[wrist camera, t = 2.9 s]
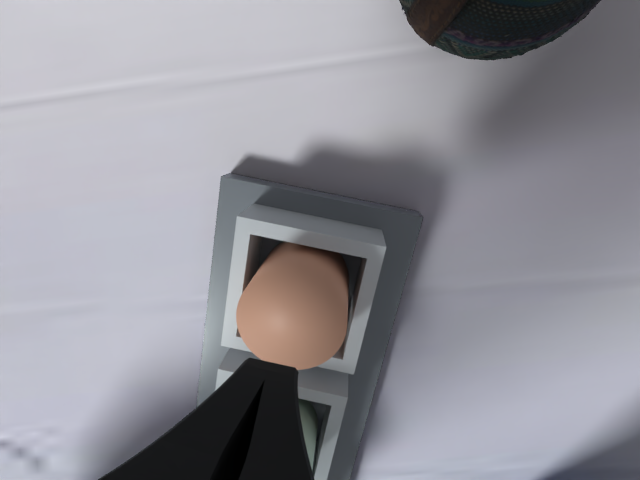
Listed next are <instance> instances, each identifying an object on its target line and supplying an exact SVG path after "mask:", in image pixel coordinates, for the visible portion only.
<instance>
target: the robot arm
mask: <svg viewBox="0 0 640 480" xmlns="http://www.w3.org/2000/svg"><path fill="white" fill-rule="evenodd" d="M298 374H299V372H298V370H297V369H296V368H295V367H291V366H286V365H281V364H277V363H272V362H268V361H263V360H258V359H254V358H248V359H246V360H245V361H244V362H243V363H242V364H241V365H240V366H239V368H238V369H237V370H236V371H235V372H234V373H233V374H232V375H231V376H230V377H229V378H228V379H227V380H226V381H225V382H224V383H223V384H222V385H221V386H220V387H219V388H218V389H217V390H216V391H214V392H213V393H212V394H211V395H210V396H209V397H208V398H207V399H206V400H205V401H203V402H202V403H201V404H200V405H199V406H198V407H197V408H196V409H195V410H193V411H192V412H191V413H190V414H189V415H187V416H186V417H185V418H184V419H182V420H181V421H180V422H179V423H177V424H176V425H175V426H174V427H173V428H171V429H170V430H169V431H168V432H166V433H165V434H164V435H162V436H161V437H160V438H158V439H157V440H156V441H154V442H153V443H152V444H150V445H149V446H148V447H146V448H145V449H144V450H142V451H141V452H139V453H138V454H136V455H135V456H133V457H132V458H131V459H129V460H128V461H126V462H125V463H123V464H122V465H120V466H119V467H117V468H116V469H114V470H113V471H111V472H109V473H108V474H106V475H105V476H103V477H101V478H100V479H98V480H314V476H313V472H312V469H311V465H310V461H309V457H308V453H307V448H306V444H305V439H304V434H303V428H302V422H301V417H300V409H299V400H298Z"/></svg>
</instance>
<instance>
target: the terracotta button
mask: <svg viewBox="0 0 640 480" xmlns="http://www.w3.org/2000/svg"><path fill="white" fill-rule="evenodd" d="M348 293H349V273H348V269H347V265H346V263H345V261H344V259H343V258H342V256H341V255H340V253H338V252H334V251H329V250H324V249H319V248H314V247H310V246H305V245H300V244H295V243H290V242H286V241H283V242H282V243H280V244H278V245H277V246H276V247H275V248H274V249H273V250H272V251H271V252H270V253H269V255H268V256H267V258H266V259H265V261H264V262H263V263H262V265H261V266H260V268H259V269H258V271H257V272H256V274H255V275H254V277H253V278H252V280H251V281H250V283H249V284H248V286H247V287H246V289H245V290H244V291H243V293H242V295H241V297H240V299H239V302H238V305H237V310H236V322H237V327H238V331H239V333H240V336H241V338H242V340H243V342H244V343H245V344H246V346H247V347H248V348H249V349H250V351H251V352H252V353H253V354H255V355H256V356H257V357H258V358H260V359H261V360H263V361H268V362H272V363H277V364H281V365H286V366H291V367H295V368H296V369H297V370H303V369H309V368H312V367H316V366H318V365H320V364H322V363H324V362H326V361H327V360H329V359H330V358H331V357H332V356H333V355H334V354H335V353H336V352H337V351H338V350H339V348H340V347H341V345H342V343H343V341H344V339H345V336H346V331H347V319H348Z"/></svg>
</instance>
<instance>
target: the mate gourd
mask: <svg viewBox="0 0 640 480" xmlns="http://www.w3.org/2000/svg"><path fill="white" fill-rule="evenodd" d="M399 1H400V3H401V5H402V9H404V11H405V13H404V14H406V16H407V21H408V22H409V24H410V25H411V26H412V28H413V29H414V31H415V32H416V33H417V34H418V35H419V36H420V37H421V38H422V39H423V40H425V41H426V42H427V43H428V44H429V45H431V46H435V47H437V48H440V49H442V50H443V51H446V52H449V53H451V54H454V55H457V56H461V57H462V58H463V57H464V58H466V59H474V60H475V59H479V60H496V59H501V58H503V59H505V58H506V59H507V58H512V57H513V56H517V55H523V54H524V53H526V52H527V51H530V50H533V49H536V48H538V47H540V46H542V45H545V44H547V43H549V42H551V41H553V40H555V39H556V38H558V37H561V35H562V34H563V33H565V32H567V31H568V30H569V29H571V28H572V27H573V26H574V25H576V24H577V23H579V22H580V21H581V20H582V19H584V18H585V17H586V16H587V15H588V14H589V12H590V11H591V10H592V9H593V8H594V7H595V6H596V5H597V4H598V3H599V2H600V1H601V0H399Z"/></svg>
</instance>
